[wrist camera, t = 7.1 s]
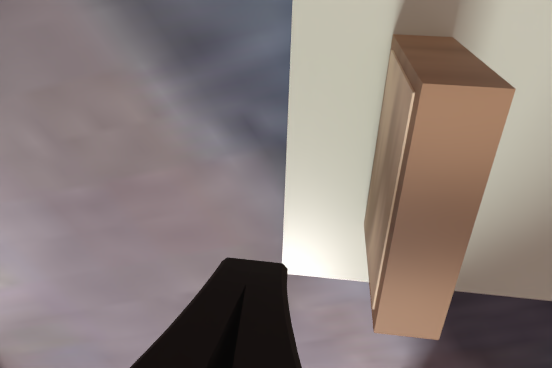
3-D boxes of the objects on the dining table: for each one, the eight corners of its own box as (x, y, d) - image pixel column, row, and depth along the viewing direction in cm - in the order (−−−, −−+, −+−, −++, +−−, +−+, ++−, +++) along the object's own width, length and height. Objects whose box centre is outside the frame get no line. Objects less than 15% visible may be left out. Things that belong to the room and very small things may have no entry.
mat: (583, 295, 20) (590, 305, 19) (283, 265, 21) (281, 273, 21) (799, -130, 12) (820, -133, 11) (299, -135, 13) (298, -138, 13)
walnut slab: (410, 229, 19) (438, 340, 13) (362, 224, 19) (372, 332, 14) (452, 37, 15) (515, 89, 9) (391, 34, 15) (419, 83, 10)
